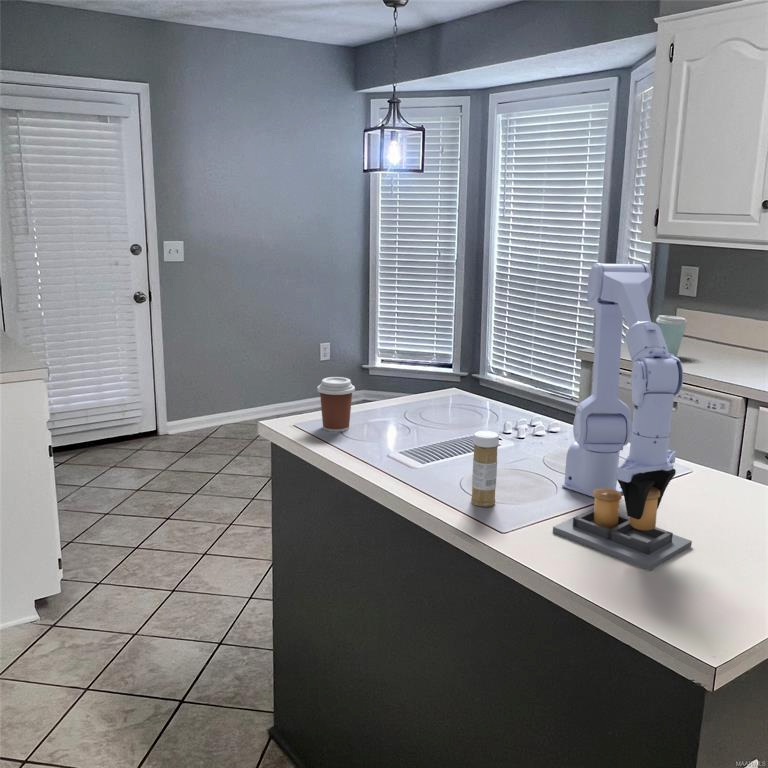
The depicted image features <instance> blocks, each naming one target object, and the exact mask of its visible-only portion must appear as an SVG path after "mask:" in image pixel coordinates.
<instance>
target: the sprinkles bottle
mask: <svg viewBox="0 0 768 768" xmlns="http://www.w3.org/2000/svg"><path fill="white" fill-rule="evenodd" d="M472 439H473V460H472V477H471V478H472V479H471V483H472V484H471V485H472V486H471V498H470V499H471V503H472V504H473V505H475V506H477V507H481V508H482V507H483V508H487V507H488V508H489V507H492V506H494V505H495V504H496V487H497V475H498V473H497V472H498V447H499V444H500V442H499V441H500V435H499V434H498V432H493V431H491V430H490V431H489V430H479V431H477V432H474V433H473V438H472Z"/></svg>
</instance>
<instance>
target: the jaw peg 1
mask: <svg viewBox="0 0 768 768" xmlns="http://www.w3.org/2000/svg"><path fill="white" fill-rule="evenodd" d="M622 494H623V493H622V492H619V491H617V490H614V489H607V488H601V489H596V490H594V491H593V496H594V497H595V498H594V497H593V498H594V505H593V509H594V522H593V523H595V524H598V525H600V526H603V527H606V528H608V529H612V528H614V527H616V526H618V517H619V514H620V501H621V500H622V498H623V497H622V496H623V495H622Z"/></svg>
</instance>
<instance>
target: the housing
mask: <svg viewBox="0 0 768 768" xmlns="http://www.w3.org/2000/svg"><path fill="white" fill-rule="evenodd" d="M593 522H594V508H592V509H590V510H587V511H585V512H583V513H580V514H579V515H576V516H573V517H571V518H570V519H567V520H564V521H563V522H560V523H557V524H556V525H553V527H552V533H554V534H556V535H560V536H562V537H565V538H567V539H569V540H570V541H571V540H572V541H574V542H577V543H578V544H582V545H583V546H584V545H585V546H587V547H589V548H590V549H591V548H592V549H595V550H597V551H599V552H601V553H604V554H606V555H610V556H612V557H613V558H616V559H619V560H622V561H625V562H627V563H629V564H632V565H635V566H637V567H640V568H642V569H644V570H647V571H650V572H651V571H652V570H654V569H656V568H657V567H659V566H660V565H664V563H666V562H668V561H669V560H671V559H672V558H674V557H676V556H678V555H679V554H681V553H684V551H686V550H688V549H690V548H691V547H692V543H693V541H692V540H690V539H688V538H685V537H681V536H679V535H676V534H674V533H673V532H672V531H667V530H665V529H663V528H660V527H655V528H654V529H652V530H639V529H636V528H634V527H632V526H631V525H630V517H629V516H625V515H622V514H620V513H619V517H618V526H616V527H614V528H612V529H608V528H606V527H603V526H600V525H598V524H595V523H593Z"/></svg>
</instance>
